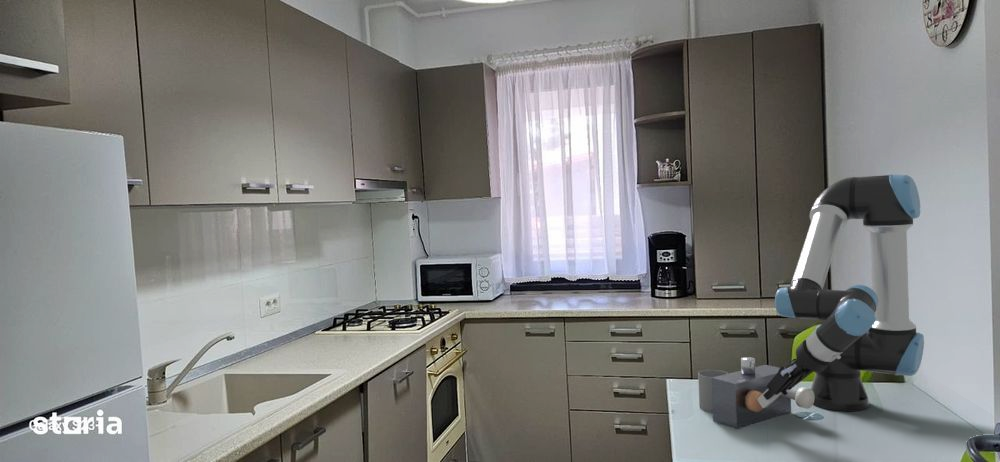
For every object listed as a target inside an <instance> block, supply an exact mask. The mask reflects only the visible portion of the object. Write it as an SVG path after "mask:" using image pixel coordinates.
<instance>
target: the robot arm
mask: <svg viewBox="0 0 1000 462" xmlns="http://www.w3.org/2000/svg"><path fill="white" fill-rule="evenodd" d="M920 215H921V201H920V195H919V190H918V187H917V185H916V181H915V180H914V178H912V177H911V176H910V175H908V174H891V173H890V174H888V175H887V174H886V175H883V174H882V175H872V176H871V175H869V176H852V177H851V176H850V177H845V178H842V179H840V180H837V181H835V182H834V183H832V184H830V185H829V186H828V187H827V188H825V189H824V190H823V191H822V192H821V193H820V194H819V196H818V197H817V198H816V199H815V200H814V202H813V204H812V205H811V209H810V212H809V220H810V223H809V224H810V225H809V227H808V230H807V234H806V237H805V240H804V243H803V246H802V249H801V252H800V255H799V257H798V258H799V259H798V261H797V264H796V267H795V269H794V273H793V276H792V280H791V282H790V285H789V287H787V286H785V287H780V288H778V289H777V291H776V292H775V297H774V306H775V310H776V313H777V314H778V315H779V316H781V317H784V318H785V317H786V318H791V319H804V320H805V319H806V320H819V321H820V320H821V321H823V322H822V323H821V324H818V325H817V326H816V328H815V329H814V330H813V331H812V332H811V333H810V334H809V335H808V336H807V337H806V339H804V340H803V341H802V342H801V343H800V344H799V345H797V346H796V349H795V355H796V357H795V358H793V359H791V361H790V362H789V364H788V365H787V366H786V367H784V366H781V367H779V368H780V369H779V371H778V373H777V374H776V375H775V376H774V378H773V379H772V380H771V381H770V382H769V383H768V385H767V388H768V389H767V390H766V391H765V392H764V393H763V394H762V395H761V396H760V397H759V398H757V401H758V402H759V404H760V405H761V406H762V408H766V407H768V406H769V405H770V404H771V403H772V402H773V401H774V400H775V399H776V398H778V397H779V396H780V395H781V394H782V393H783V394H784V395H786V394H788V393H787V392H786V390H787V389H788V390H793V388H795V386H797V385H798V384H799V383H801V382H802V381H804V380H805V378H807V377H808V376H809V375H811V374H812V373H815V374H814V377H813V381H812V384H811V388H810V389H811V390H813V392H814V396H815V399H814V403H813V406H816V407H819V408H822V409H826V410H833V411H839V412H840V411H841V412H842V411H843V412H851V411H852V412H854V411H855V412H857V411H861V410H866V409H868V408H869V406H870V405H869V396H868V393H867V391H866V388H865V386H864V383H863V380H862V377H861V376H862V375H861V374H862V373H861V371H864V372H871V373H878V374H879V373H880V374H888V375H894V376H895V377H896V376H906V377H907V376H909V377H910V376H914V375H916V374H917V372H918V371H919V369H920V367H921V363H922V360H923V355H924V349H925V348H924V346H925V337H924V334H923V333H920V332H917V325H916V324H915V323H914V322H913V321H912V320H911V319H910V306H909V305H910V303H909V300H910V299H909V269H908V268H909V266H908V234H907V233H908V231H909V230H910V228H911V227H913V225H914V220H915V219H918V218H919V217H920ZM849 220H862V225H863V228H865V229H866V230H867V231H868V232H869V247H870V252H869V253H870V277H871V278H870V279H871V283H870V284H871V288H870V287H869V286H867V285H863V284H856V285H852V286H850V287H848V288H847V289H846V290H841V289H838V290H837V289H824V286H825V283H826V280H827V277H828V272H829V269H830V267H831V262H832V260H833V256H834V253H835V249H836V246H837V242H838V240H839V236H840V233H841V230H842V229H843V228H844V227H846V226H847V223H848V221H849ZM781 392H782V393H781Z"/></svg>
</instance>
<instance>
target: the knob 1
mask: <svg viewBox="0 0 1000 462" xmlns="http://www.w3.org/2000/svg"><path fill="white" fill-rule="evenodd" d="M762 394H763V393H761V392H758V391H754V390H751V391H749V392H748V394H745V404H746V407H747V408H748V409H749V410H752V411H755V412H759V411H761V410H762V409H763V408H762V406H761V405H760V404H759V402H758V401H757V398H759V397H760V396H761V395H762Z"/></svg>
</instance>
